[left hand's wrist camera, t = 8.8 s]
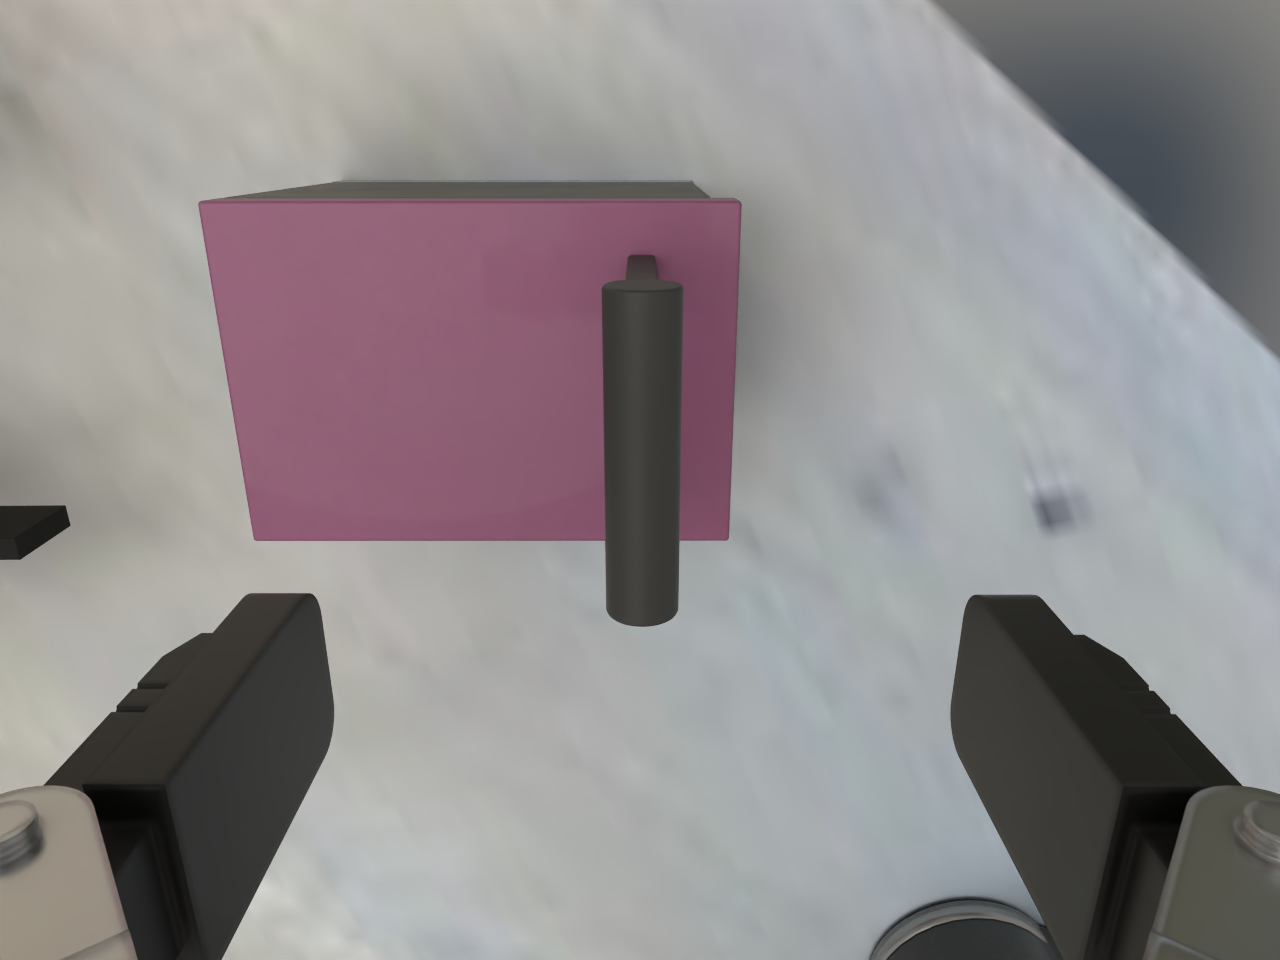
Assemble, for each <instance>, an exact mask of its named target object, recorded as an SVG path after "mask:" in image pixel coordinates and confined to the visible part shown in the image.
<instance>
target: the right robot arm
mask: <svg viewBox="0 0 1280 960" xmlns="http://www.w3.org/2000/svg"><path fill="white" fill-rule="evenodd" d="M69 526H70V522H69V518H68V514H67V510H66V506H0V560H20V559H22V558H23V557H25V556H26V555H28V554H29V553H31V552H32V551H34V550H35V549H37V548H38V547H40V546H41V545H43V544H44V543H45V542H47V541H48V540H50V539H51V538H53V537H54V536H56V535H57V534H59V533H60V532H62V531H63V530H65V529H66V528H68V527H69Z"/></svg>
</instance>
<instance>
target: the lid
mask: <svg viewBox="0 0 1280 960" xmlns="http://www.w3.org/2000/svg"><path fill="white" fill-rule="evenodd" d="M198 205H199V211H200V217H201V223H202V229H203V235H204V241H205V247H206V253H207V259H208V265H209V271H210V277H211V283H212V289H213V295H214V301H215V307H216V313H217V319H218V325H219V331H220V337H221V343H222V350H223V356H224V362H225V368H226V374H227V380H228V386H229V392H230V398H231V404H232V410H233V416H234V422H235V428H236V434H237V440H238V446H239V452H240V458H241V464H242V470H243V476H244V482H245V488H246V494H247V500H248V506H249V512H250V518H251V524H252V530H253V536H254V540H256V541H605V548H606V609H607V612H608V614H609V615H610V617H611V618H613V619H614V620H616V621H617V622H620V623H622V624H626V625H630V626H640V627H645V626H654V625H659V624H662V623H665V622H667V621H669V620H671V619H672V618H673V617H674V616H675V615H676V613H677V611H678V589H679V540H728V538H729V520H730V494H731V467H732V441H733V415H734V389H735V362H736V336H737V310H738V283H739V257H740V231H741V205H742V204H741V202H740V201H738V200H737V199H735V198H219V199H212V200H205V201H200V202H199V204H198Z"/></svg>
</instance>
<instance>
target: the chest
mask: <svg viewBox="0 0 1280 960" xmlns="http://www.w3.org/2000/svg"><path fill="white" fill-rule="evenodd" d="M226 198H710V197H709V196H708V195H707V194H705V193H704V192H703V191H702V190H700V189H699V188H698V187H697V186H696V185H694V184H693V181H336V182H332V183H326V184H319V185H312V186H305V187H297V188H290V189H283V190H276V191H269V192H262V193H255V194H248V195H241V196H233V197H226Z"/></svg>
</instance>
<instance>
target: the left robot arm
mask: <svg viewBox="0 0 1280 960" xmlns="http://www.w3.org/2000/svg"><path fill="white" fill-rule="evenodd" d="M333 723H334V701H333V693H332V686H331V679H330V672H329V665H328V658H327V651H326V644H325V637H324V630H323V623H322V616H321V610H320V606H319V603H318V601H317V599H316V597H315V596H314V595H313V594H310V593H251V594H248V595H246V596H245V597H244V598H243V599H242V600H241V601H240V602H239V603H238V604H237V606H236V607H235V608H234V609H233V610H232V611H231V613H230V614H229V615H228V616H227V617H226V618H225V619H224V621H223V622H222V623H221V624H220V625H219V626H218V628H217V629H216V630H215V631H214V632H213V633H201V634H199V635H198V636H196V637H194V638H193V639H191V640H189V641H188V642H186V643H184V644H183V645H181V646H179V647H178V648H176V649H174V650H173V651H171V652H169V653H168V654H166V655H164V656H163V657H162V658H161V659H160V660H159V661H158V662H157V663H156V664H155V665H154V666H153V667H152V669H151V670H150V671H149V672H148V673H147V674H146V675H145V676H144V677H143V678H142V679H141V680H140V682H139V683H138V687H137V689H132V690H131V691H130V692H129V693H128V695H127V696H126V697H125V698H124V699H123V700H122V701H121V702H120V703H119V704H118V705H117V710H116V712H111V713H110V714H109V715H108V716H107V717H106V718H105V719H104V721H103V722H102V723H101V724H100V725H99V726H98V727H97V728H96V729H95V730H94V731H93V732H92V734H91V735H90V736H89V737H88V738H87V739H86V740H85V741H84V742H83V743H82V744H81V745H80V747H79V748H78V749H77V750H76V751H75V752H74V753H73V754H72V755H71V756H70V757H69V758H68V759H67V761H66V762H65V763H64V764H63V765H62V766H61V767H60V768H59V769H58V770H57V771H56V772H55V774H54V775H53V776H52V777H51V778H50V779H49V780H48V781H47V782H46V783H45V784H44V785H43V786H35V787H28V788H23V789H18V790H13V791H10V792H6V793H3V794H0V960H222V958H223V956H224V954H225V952H226V950H227V948H228V946H229V944H230V942H231V940H232V938H233V936H234V934H235V932H236V930H237V928H238V926H239V924H240V922H241V920H242V918H243V916H244V914H245V912H246V911H247V909H248V907H249V905H250V903H251V901H252V899H253V897H254V895H255V893H256V891H257V889H258V887H259V885H260V883H261V881H262V879H263V877H264V875H265V873H266V871H267V869H268V867H269V865H270V864H271V862H272V860H273V858H274V856H275V854H276V852H277V850H278V848H279V846H280V844H281V842H282V840H283V838H284V836H285V834H286V832H287V830H288V828H289V826H290V824H291V822H292V820H293V818H294V816H295V815H296V813H297V811H298V809H299V807H300V805H301V803H302V801H303V799H304V797H305V795H306V793H307V791H308V789H309V787H310V785H311V783H312V781H313V779H314V777H315V775H316V773H317V771H318V769H319V767H320V766H321V764H322V762H323V760H324V758H325V756H326V753H327V751H328V748H329V745H330V741H331V737H332V731H333ZM951 728H952V735H953V740H954V744H955V748H956V751H957V753H958V756H959V758H960V760H961V762H962V764H963V766H964V768H965V770H966V771H967V773H968V775H969V777H970V779H971V781H972V783H973V785H974V787H975V789H976V791H977V793H978V795H979V797H980V799H981V801H982V802H983V804H984V806H985V808H986V810H987V812H988V814H989V816H990V818H991V820H992V822H993V824H994V826H995V828H996V830H997V831H998V833H999V835H1000V837H1001V839H1002V841H1003V843H1004V845H1005V847H1006V849H1007V851H1008V853H1009V855H1010V857H1011V859H1012V861H1013V862H1014V864H1015V866H1016V868H1017V870H1018V872H1019V874H1020V876H1021V878H1022V880H1023V882H1024V884H1025V886H1026V888H1027V890H1028V892H1029V893H1030V895H1031V897H1032V899H1033V901H1034V903H1035V905H1036V907H1037V909H1038V911H1039V913H1040V915H1041V917H1042V919H1043V921H1044V922H1045V924H1046V926H1047V927H1041V926H1038V925H1037V924H1036V923H1035V922H1034V921H1033V920H1032V919H1031V918H1029V917H1028V916H1027V915H1025V914H1023V913H1022V912H1020V911H1018V910H1016V909H1013V908H1011V907H1008V906H1005V905H1002V904H998V903H994V902H988V901H978V900H965V901H954V902H948V903H943V904H939V905H936V906H932V907H929V908H926V909H924V910H921V911H919V912H917V913H915V914H913V915H911V916H909V917H908V918H906V919H904V920H903V921H901V922H900V923H898V924H897V925H896V926H895V927H893V928H892V929H891V930H890V931H889V932H888V933H887V934H886V935H885V936H884V937H883V939H882V940H881V941H880V942H879V944H878V945H877V947H876V948H875V950H874V952H873V954H872V957H871V959H870V960H1280V794H1277V793H1274V792H1270V791H1267V790H1262V789H1257V788H1252V787H1245V786H1242V785H1241V784H1240V783H1239V782H1238V781H1237V780H1236V779H1235V778H1234V776H1233V775H1232V774H1231V773H1230V772H1229V771H1228V770H1227V769H1226V768H1225V767H1224V766H1223V765H1222V764H1221V763H1220V761H1219V760H1218V759H1217V758H1216V757H1215V756H1214V755H1213V754H1212V753H1211V752H1210V751H1209V750H1208V749H1207V747H1206V746H1205V745H1204V744H1203V743H1202V742H1201V741H1200V740H1199V739H1198V738H1197V737H1196V736H1195V735H1194V734H1193V732H1192V731H1191V730H1190V729H1189V728H1188V727H1187V726H1186V725H1185V724H1184V723H1183V722H1182V721H1181V720H1180V719H1179V717H1178V716H1177V715H1176V714H1171V713H1170V708H1169V707H1168V706H1167V705H1166V703H1165V702H1164V701H1163V700H1162V699H1161V698H1160V697H1159V696H1158V695H1157V694H1156V693H1155V692H1154V691H1149V685H1148V684H1147V683H1146V682H1145V681H1144V680H1143V679H1142V678H1141V677H1140V676H1139V675H1138V673H1137V672H1136V671H1135V670H1134V669H1133V668H1132V667H1131V666H1130V665H1129V664H1128V663H1127V662H1126V661H1125V659H1124V658H1122V657H1120V656H1119V655H1117V654H1115V653H1114V652H1112V651H1110V650H1109V649H1107V648H1105V647H1104V646H1102V645H1100V644H1099V643H1097V642H1095V641H1094V640H1092V639H1090V638H1089V637H1087V636H1085V635H1073V634H1072V633H1071V632H1070V630H1069V629H1068V628H1067V627H1066V626H1065V625H1064V624H1063V622H1062V621H1061V620H1060V619H1059V618H1058V617H1057V616H1056V614H1055V613H1054V612H1053V611H1052V610H1051V609H1050V608H1049V606H1048V605H1047V604H1046V603H1045V602H1044V601H1043V600H1042V599H1041V598H1040V597H1039V596H1037V595H973V596H972V597H971V598H970V599H969V600H968V602H967V605H966V608H965V611H964V617H963V623H962V630H961V637H960V644H959V651H958V658H957V665H956V672H955V679H954V686H953V693H952V700H951Z"/></svg>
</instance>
